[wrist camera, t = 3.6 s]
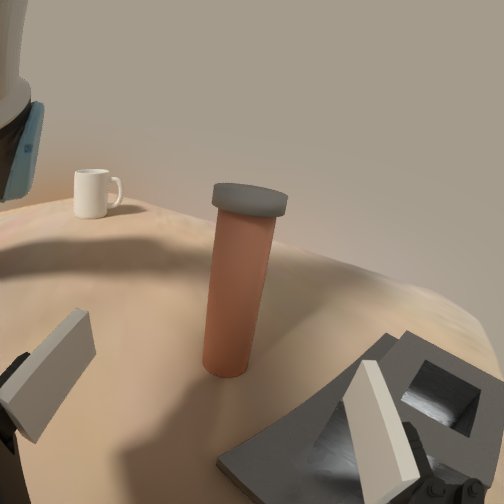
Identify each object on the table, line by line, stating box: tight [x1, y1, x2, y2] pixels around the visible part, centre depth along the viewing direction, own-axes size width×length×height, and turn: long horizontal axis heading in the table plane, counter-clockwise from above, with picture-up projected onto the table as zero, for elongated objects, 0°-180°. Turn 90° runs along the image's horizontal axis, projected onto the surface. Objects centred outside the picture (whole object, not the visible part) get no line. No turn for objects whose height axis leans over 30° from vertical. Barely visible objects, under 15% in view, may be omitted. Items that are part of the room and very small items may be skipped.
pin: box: [203, 183, 288, 378], centre depth 22 cm, size 5×5×15 cm
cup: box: [74, 169, 123, 219], centre depth 57 cm, size 8×12×10 cm
